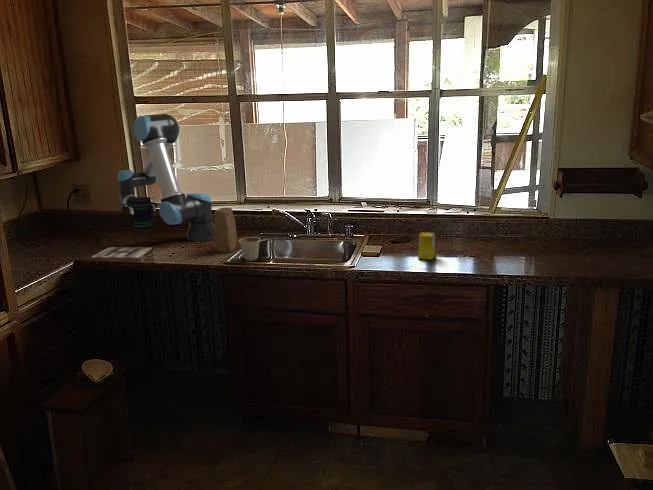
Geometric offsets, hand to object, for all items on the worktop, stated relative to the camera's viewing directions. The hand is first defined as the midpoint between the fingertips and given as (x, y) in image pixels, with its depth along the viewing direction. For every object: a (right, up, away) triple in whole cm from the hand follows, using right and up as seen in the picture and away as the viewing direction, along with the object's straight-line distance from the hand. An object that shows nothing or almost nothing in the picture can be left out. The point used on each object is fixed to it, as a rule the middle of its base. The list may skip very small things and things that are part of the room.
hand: (143, 210), depth 278 cm
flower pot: (+55, -23, -22) cm, 63 cm away
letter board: (-8, -21, -7) cm, 23 cm away
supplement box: (+131, -23, -31) cm, 137 cm away
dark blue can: (-2, -9, +6) cm, 11 cm away
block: (+41, -19, -7) cm, 46 cm away
